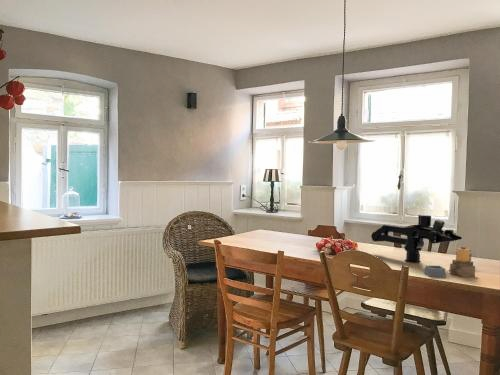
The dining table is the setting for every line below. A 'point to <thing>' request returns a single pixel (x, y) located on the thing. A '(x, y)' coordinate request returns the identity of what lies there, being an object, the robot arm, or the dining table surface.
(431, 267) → the lower dock
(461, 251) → the plug
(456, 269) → the upper dock
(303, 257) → the dining table surface
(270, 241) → the dining table surface
